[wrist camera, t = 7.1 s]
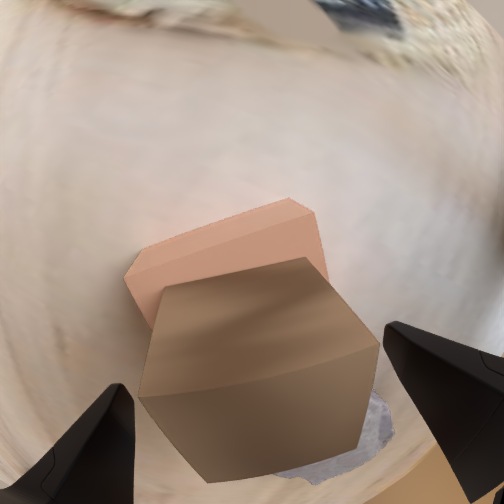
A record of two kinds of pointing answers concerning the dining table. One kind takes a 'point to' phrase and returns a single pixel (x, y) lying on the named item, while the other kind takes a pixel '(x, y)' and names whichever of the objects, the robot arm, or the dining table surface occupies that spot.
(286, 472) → the stone block
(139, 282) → the terracotta block
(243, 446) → the walnut cube
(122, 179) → the dining table surface
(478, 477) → the robot arm
